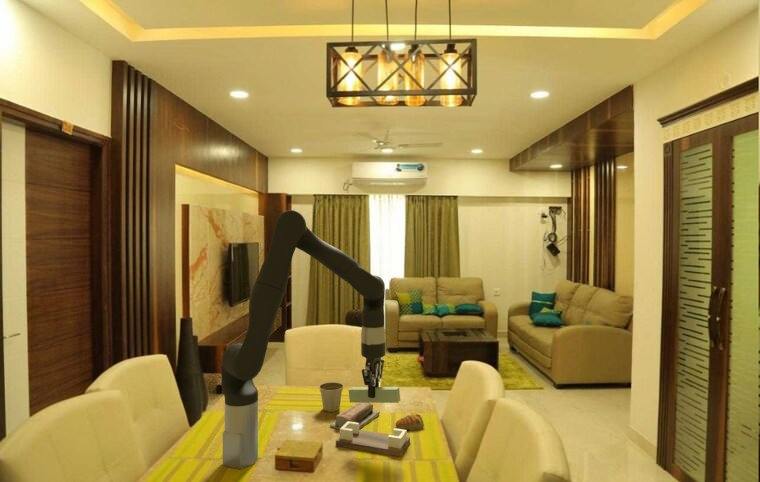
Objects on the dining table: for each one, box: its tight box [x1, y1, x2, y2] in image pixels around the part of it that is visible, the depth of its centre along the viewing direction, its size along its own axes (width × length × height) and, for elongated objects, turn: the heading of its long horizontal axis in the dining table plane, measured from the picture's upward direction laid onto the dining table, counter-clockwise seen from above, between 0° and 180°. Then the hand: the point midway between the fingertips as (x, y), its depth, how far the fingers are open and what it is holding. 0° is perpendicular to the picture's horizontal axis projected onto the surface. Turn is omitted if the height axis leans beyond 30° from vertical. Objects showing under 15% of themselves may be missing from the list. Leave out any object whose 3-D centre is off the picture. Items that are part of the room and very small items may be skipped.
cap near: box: [388, 427, 408, 449], centre depth 140 cm, size 6×4×3 cm, turn 160°
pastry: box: [395, 413, 425, 431], centre depth 157 cm, size 9×7×4 cm
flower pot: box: [318, 381, 345, 413], centre depth 172 cm, size 9×9×9 cm
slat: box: [348, 386, 401, 404], centre depth 142 cm, size 2×16×4 cm, turn 70°
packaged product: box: [329, 403, 380, 430], centre depth 161 cm, size 18×5×10 cm
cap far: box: [339, 421, 360, 440], centre depth 146 cm, size 6×4×3 cm, turn 160°
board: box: [335, 429, 411, 457], centre depth 143 cm, size 10×21×2 cm, turn 70°
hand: (373, 395), depth 142 cm, fingers closed on slat, 2 cm apart
